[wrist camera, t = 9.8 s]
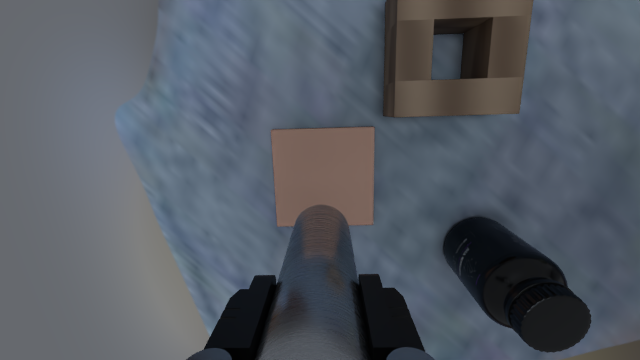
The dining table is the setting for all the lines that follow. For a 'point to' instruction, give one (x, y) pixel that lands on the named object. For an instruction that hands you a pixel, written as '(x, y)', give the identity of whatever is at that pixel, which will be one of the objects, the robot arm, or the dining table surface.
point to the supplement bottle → (516, 285)
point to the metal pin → (316, 295)
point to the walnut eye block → (477, 56)
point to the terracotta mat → (324, 172)
